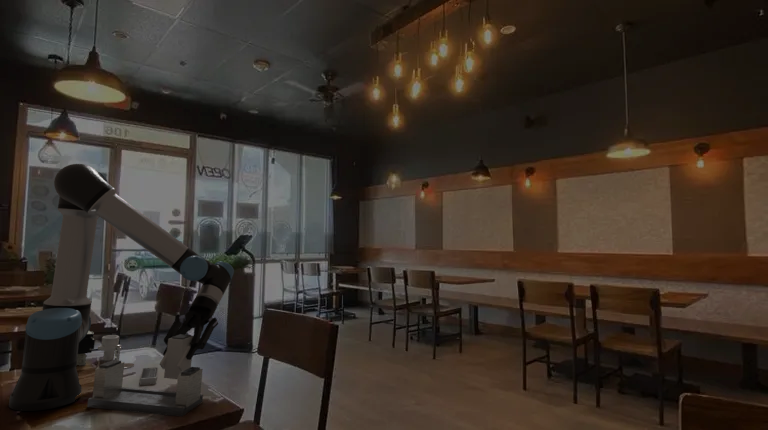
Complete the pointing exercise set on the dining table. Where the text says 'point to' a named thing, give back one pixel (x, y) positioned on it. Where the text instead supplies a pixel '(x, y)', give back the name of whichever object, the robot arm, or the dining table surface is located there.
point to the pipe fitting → (109, 346)
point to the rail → (144, 392)
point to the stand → (117, 354)
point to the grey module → (176, 355)
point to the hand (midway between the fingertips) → (171, 367)
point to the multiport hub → (148, 376)
